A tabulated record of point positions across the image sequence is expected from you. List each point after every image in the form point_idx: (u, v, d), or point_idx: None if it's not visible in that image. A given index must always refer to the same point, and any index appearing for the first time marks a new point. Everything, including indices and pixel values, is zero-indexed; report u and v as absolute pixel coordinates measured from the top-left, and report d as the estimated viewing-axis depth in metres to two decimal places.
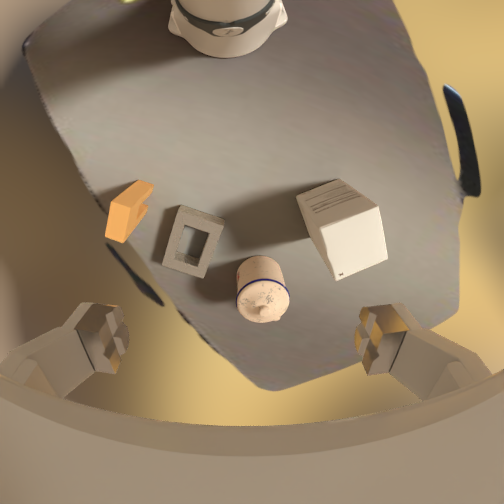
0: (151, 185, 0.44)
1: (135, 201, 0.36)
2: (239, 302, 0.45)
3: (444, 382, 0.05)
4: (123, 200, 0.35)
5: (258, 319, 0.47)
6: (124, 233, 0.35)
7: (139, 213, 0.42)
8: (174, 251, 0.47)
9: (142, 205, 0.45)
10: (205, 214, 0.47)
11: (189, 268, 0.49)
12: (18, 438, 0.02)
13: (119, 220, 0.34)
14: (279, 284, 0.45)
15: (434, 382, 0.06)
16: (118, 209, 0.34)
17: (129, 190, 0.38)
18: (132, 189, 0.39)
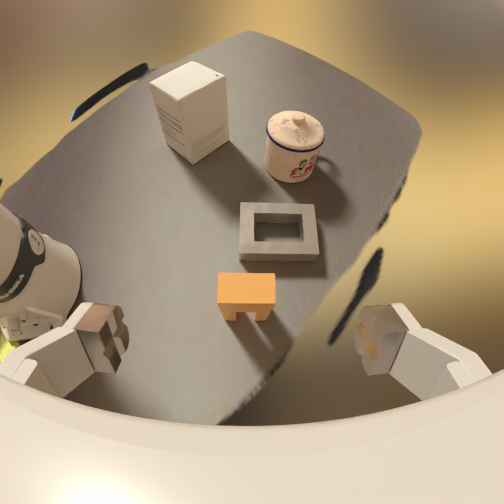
0: None
1: None
2: (306, 145, 0.37)
3: (444, 382, 0.05)
4: None
5: (316, 125, 0.39)
6: (259, 274, 0.27)
7: None
8: (293, 243, 0.38)
9: None
10: None
11: (308, 221, 0.40)
12: (18, 438, 0.02)
13: (241, 285, 0.27)
14: (268, 123, 0.39)
15: (434, 382, 0.06)
16: (226, 289, 0.26)
17: None
18: None
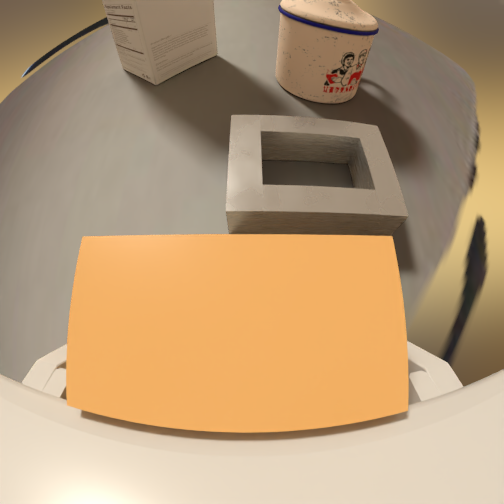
0: None
1: None
2: (353, 22, 0.14)
3: None
4: None
5: (362, 10, 0.16)
6: (310, 243, 0.04)
7: None
8: (354, 191, 0.15)
9: None
10: None
11: (374, 152, 0.17)
12: (18, 438, 0.02)
13: (198, 316, 0.04)
14: (281, 3, 0.17)
15: None
16: (108, 334, 0.04)
17: None
18: None
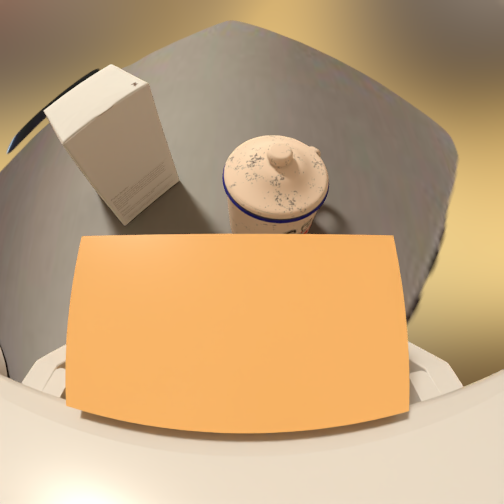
0: None
1: None
2: (293, 209, 0.21)
3: None
4: None
5: (314, 164, 0.22)
6: (311, 243, 0.04)
7: None
8: None
9: None
10: None
11: None
12: (18, 438, 0.02)
13: (198, 316, 0.04)
14: (226, 163, 0.23)
15: None
16: (107, 335, 0.04)
17: None
18: None
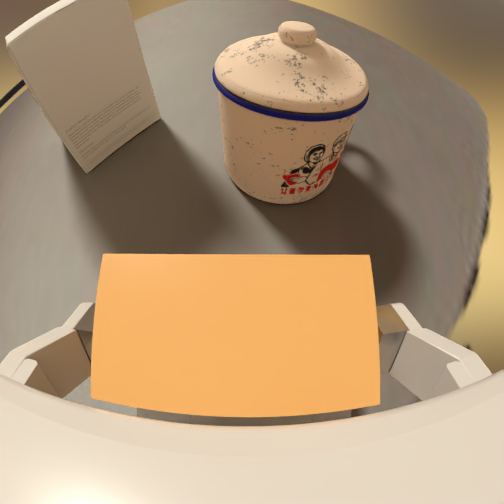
0: None
1: None
2: (324, 99, 0.11)
3: (444, 382, 0.05)
4: None
5: (346, 59, 0.12)
6: (297, 262, 0.05)
7: None
8: None
9: None
10: None
11: None
12: (18, 438, 0.02)
13: (205, 322, 0.05)
14: None
15: (434, 382, 0.06)
16: (128, 337, 0.05)
17: None
18: None
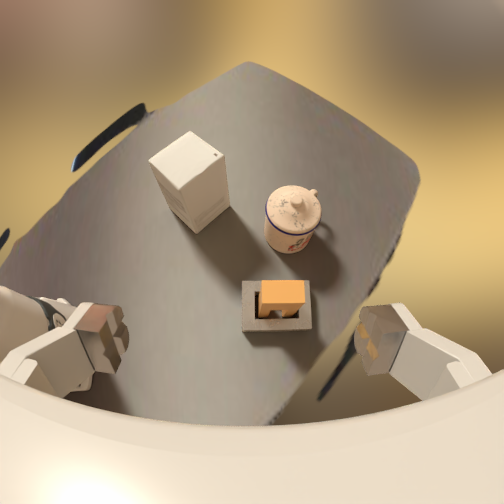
0: (258, 300, 0.46)
1: None
2: (303, 229, 0.42)
3: (444, 382, 0.05)
4: (261, 296, 0.37)
5: (314, 204, 0.43)
6: (292, 281, 0.36)
7: None
8: (289, 320, 0.43)
9: None
10: None
11: None
12: (18, 438, 0.02)
13: (279, 290, 0.35)
14: (267, 202, 0.44)
15: (434, 382, 0.06)
16: (268, 293, 0.35)
17: None
18: None
